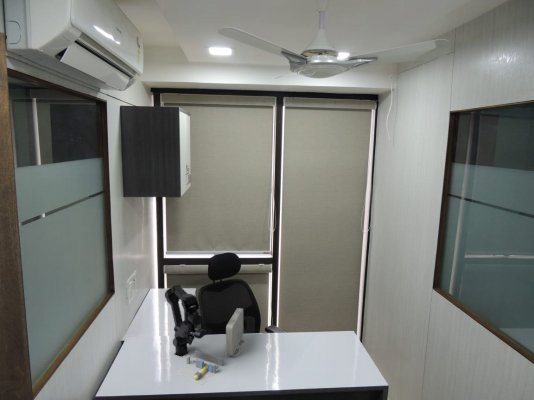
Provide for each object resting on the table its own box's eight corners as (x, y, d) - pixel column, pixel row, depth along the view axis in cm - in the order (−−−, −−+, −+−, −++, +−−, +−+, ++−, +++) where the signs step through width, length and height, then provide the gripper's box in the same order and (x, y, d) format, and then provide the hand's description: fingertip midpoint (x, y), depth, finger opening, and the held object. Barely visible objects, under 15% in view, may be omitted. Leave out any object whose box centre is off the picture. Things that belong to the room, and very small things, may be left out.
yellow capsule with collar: (197, 381, 179) (197, 377, 178) (193, 379, 180) (192, 375, 180) (209, 369, 188) (209, 365, 188) (205, 368, 190) (205, 364, 189)
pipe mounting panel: (174, 375, 185) (173, 366, 184) (195, 357, 201) (195, 348, 200) (202, 385, 176) (202, 376, 175) (223, 366, 192) (222, 357, 192)
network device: (236, 360, 198) (236, 327, 196) (221, 358, 200) (221, 326, 197) (246, 337, 223) (246, 308, 221) (233, 336, 225) (233, 306, 222)
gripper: (166, 320, 187) (167, 347, 189) (193, 328, 179) (194, 356, 181) (180, 312, 197) (181, 338, 199) (206, 319, 189) (207, 346, 191)
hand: (190, 344), depth 192 cm, fingers closed
